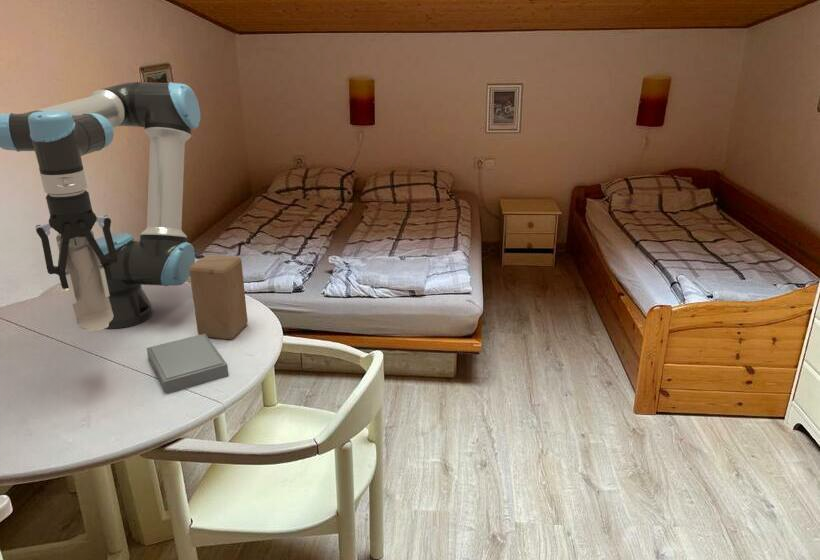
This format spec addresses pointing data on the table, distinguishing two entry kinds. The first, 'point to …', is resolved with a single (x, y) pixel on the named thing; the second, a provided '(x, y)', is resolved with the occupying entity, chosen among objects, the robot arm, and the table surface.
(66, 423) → the table surface
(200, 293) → the wooden block
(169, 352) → the grey flat block
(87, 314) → the candle
